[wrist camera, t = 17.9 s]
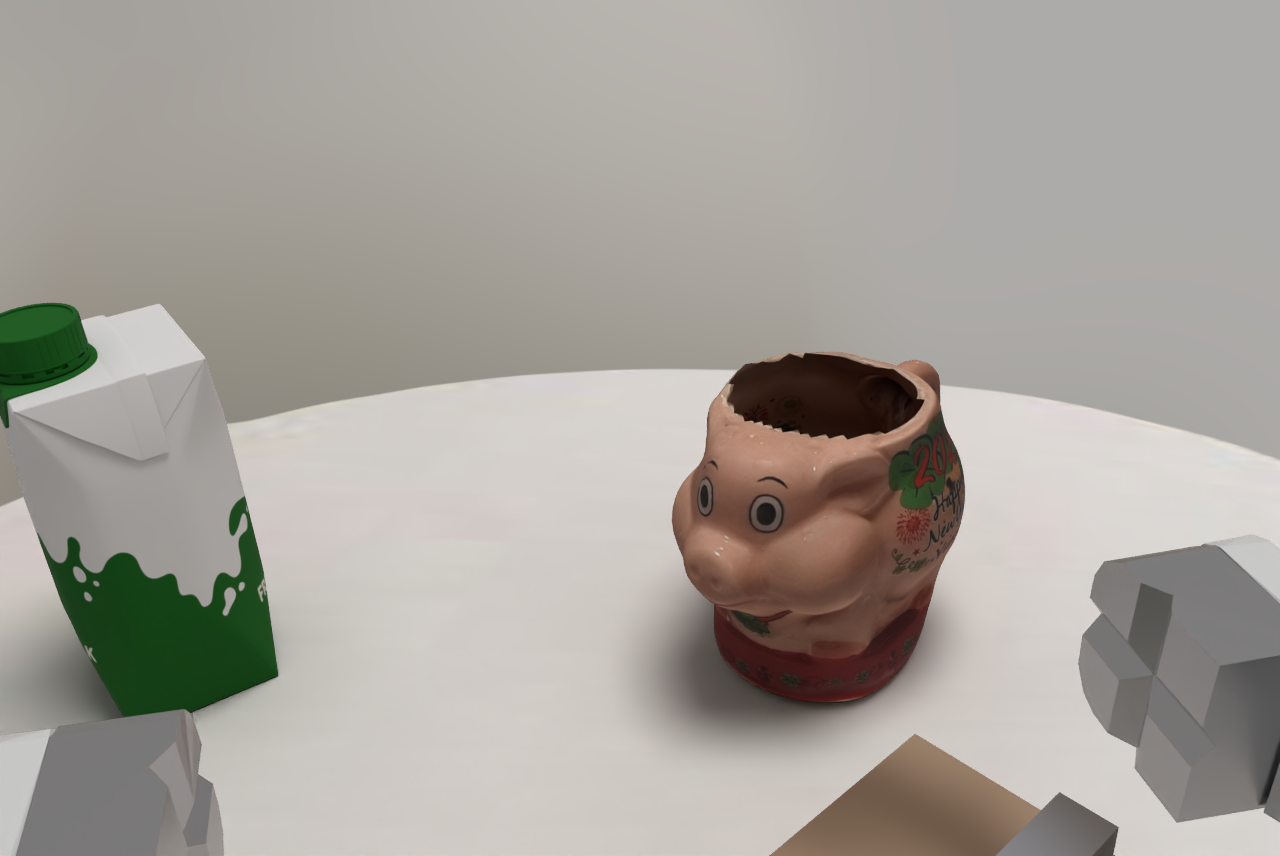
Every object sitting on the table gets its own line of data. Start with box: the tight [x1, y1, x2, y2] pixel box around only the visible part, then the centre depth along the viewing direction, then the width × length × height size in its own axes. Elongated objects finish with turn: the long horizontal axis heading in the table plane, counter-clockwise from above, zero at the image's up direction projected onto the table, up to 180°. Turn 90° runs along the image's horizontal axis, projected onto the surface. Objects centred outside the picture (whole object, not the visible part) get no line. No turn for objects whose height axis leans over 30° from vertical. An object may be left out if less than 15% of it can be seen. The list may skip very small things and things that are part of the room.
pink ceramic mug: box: [672, 352, 965, 702], centre depth 59 cm, size 20×12×14 cm, turn 146°
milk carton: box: [0, 303, 278, 717], centre depth 57 cm, size 9×9×20 cm
